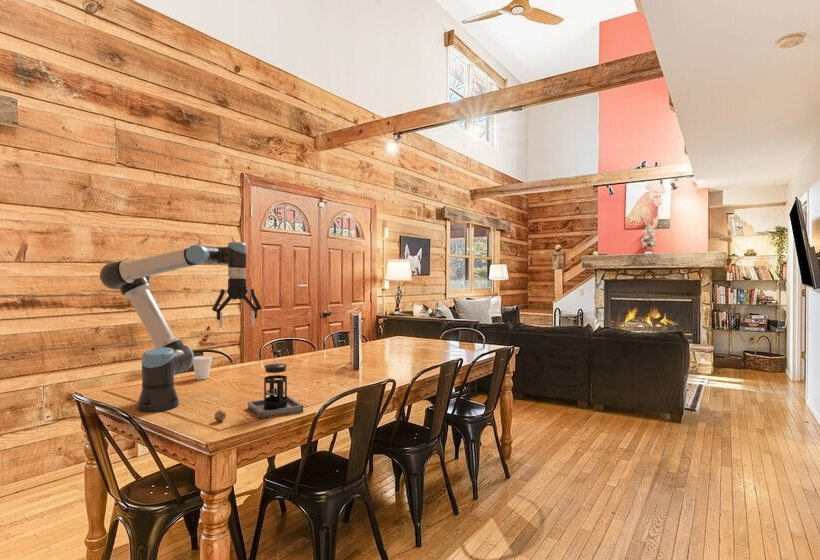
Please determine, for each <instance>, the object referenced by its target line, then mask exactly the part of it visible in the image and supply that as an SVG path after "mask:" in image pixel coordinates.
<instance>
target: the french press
mask: <svg viewBox="0 0 820 560" xmlns="http://www.w3.org/2000/svg"><path fill="white" fill-rule="evenodd" d="M281 352H282V351H281V350H280V349H278V350H277V349H273V350H270V353H273V354H274V355H273V356H274V360H275V361H274V363H268V364H265V365H264V366H263V367H264V368H265V372H266V373H268V374H274V375H268V376H265V377H264V378H263V400H264V406H263V408H264V409H266V410H274V409H280V408H286V407H287V396H288V390H287V389H288V387H287V386H288V376H286V375H279V373H284V372H286V370H287V367H288V364H285V363H277V356H278V353H281ZM267 384H269V389H267ZM267 396H268V397H267Z"/></svg>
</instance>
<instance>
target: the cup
mask: <svg viewBox="0 0 820 560" xmlns="http://www.w3.org/2000/svg"><path fill="white" fill-rule="evenodd" d="M213 358H214V357H213V356H212V355H211V356H210V355H197V356H194V361H193V364H192V366H193V371H194V376H195V379H196V380H198V381H203V380H202V379H204V380H208V379H209V377H210V371H211V366H212V362H213V361H212V360H213ZM207 378H208V379H207Z"/></svg>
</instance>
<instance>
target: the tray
mask: <svg viewBox="0 0 820 560" xmlns="http://www.w3.org/2000/svg"><path fill="white" fill-rule="evenodd" d="M263 406H264V399H259V400H252V401H251V400H250V401H248V402H247V407H248V409H249V410H250V411H251V410H252V411H253V412H254V413H255V416H257V417H258V416H259V417H260V418H263V419H265V418H264V417H269V418H271V417H270V416H275V417H278V416H277V415H281V416H285V415H284V414H287V415H292V414H299V412H300V413H304V405H303V404H301V403H300V402H298V401H297V400H295V399H294V398H293V397H291V396H289V395H287V407H286V408H280V409H274V410H266V409H264V408H263ZM252 411H251V412H252ZM253 412H252V413H253ZM254 413H253V414H254ZM259 417H258V418H259ZM260 418H259V419H260Z"/></svg>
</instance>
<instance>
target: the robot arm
mask: <svg viewBox="0 0 820 560" xmlns="http://www.w3.org/2000/svg"><path fill="white" fill-rule="evenodd" d="M247 254H248V251H247V244H246V243H245V242H241V241H238V242H237V241H231V242H230V241H229V242H228V243H227V246H211V245H203V244H198V243H197V244H193V245H190V246H189V247H186V248H182V249H178V250H174V251H168V252H164V253H161V254H156V255H153V256H147V257H143V258H139V259H135V260H131V261H129V260H126V259H124V260H119V261H111V262H109V263H107V264H105V265H104V266H103V267H102V268H101V269H100V271H99V279H100V281H101V283H102V285H103V286H105V287H106V288H107V289H108V288H109V289H111V290H119V291H120V293H121V294H122V296H123V298H125V299H128V300H129V301H130V303H131V305H132V307H133V308H134V310H135V312H136V314H137V316H138V318H139V319H140V322H141V323H142V325H143V326H144V328H145V330H146V331H147V334H148V336H149V338H150V339H151V341H152V343H153V344H154V347H155V348H151V349H148V350H146V351H144V353H142V358H141V392H140V395H139V398H138V399H137V402H136V403H137V404H136V409H137V410H138V411H140V412H143V413H144V412H146V413H147V412H149V413H150V412H151V413H152V412H163V411H167V410H171V409H174V408H176V407H178V406H179V403H180V401H179V400H180V399H179V397H178V394H177V390H176V388H175V376H176V375H180V374H183V373H184V372H187V370H189V369H190V368H191V367H192V366H193V361H194V357H195V354H194V351H193V349H192V348H191V347H189V346H188V345H186V344H184V343H183V341H182V339H181V338H179V337H176V336H175V334H174V333H173V331H172V328H171V326H170V325H169V323H168V321H167V320H166V318H165V316H164V314H163V312H162V311H161V309H160V307H159V305H158V303H157V301H156V300H155V297H154V296H153V294H152V292H151V290H150V289H151V287H152V285H151V282H150V281H151V280H150V278H151V276H154V275H159V274H163V273H166V272H168V273H169V272H172V271H176V270H180V269H185V268H189V267H194V266H197V265H220V264H221V265H227V277H228V279H227V289H223V288H221V289H220V290H219V294H218V296H217V298H216V300H215V302H214V303H213V306H212V308H211V311H214V312H216V320H217V321H218V327H219V329H222V328H223V312H222V311H223V310H224V308H225V307H226V306H227V305H228V304H229V302H230V301H231V300H243V301H245V302H246V304H247V305H248V306H249V307H250V309H252V310H251V313H250V314H251V316H250V318H251V319H250V320H251V321H250V326H251V327H255V324H256V321H255V320H256V319H257V318H258V311H259V310H262V306H261V304H260V302H259V300H258V298H257V297H256V295H255V290H254V289H253V288H250V289H249V288H248V289H247V278H246V277H247V257H248V256H247ZM226 293H227V295H228V296H227V297H226V298H225V300H224V301H223V302H222V300H223V297H224V295H226ZM247 293H248V294H249V295H250V297H251V299H252V301H253V302H254V304H253V303H252V302H251V301H250V299H249V298H248V297H247V296H246V294H247ZM221 302H222V303H221ZM220 303H221V304H220Z"/></svg>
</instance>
